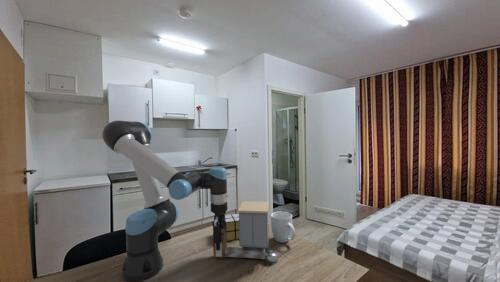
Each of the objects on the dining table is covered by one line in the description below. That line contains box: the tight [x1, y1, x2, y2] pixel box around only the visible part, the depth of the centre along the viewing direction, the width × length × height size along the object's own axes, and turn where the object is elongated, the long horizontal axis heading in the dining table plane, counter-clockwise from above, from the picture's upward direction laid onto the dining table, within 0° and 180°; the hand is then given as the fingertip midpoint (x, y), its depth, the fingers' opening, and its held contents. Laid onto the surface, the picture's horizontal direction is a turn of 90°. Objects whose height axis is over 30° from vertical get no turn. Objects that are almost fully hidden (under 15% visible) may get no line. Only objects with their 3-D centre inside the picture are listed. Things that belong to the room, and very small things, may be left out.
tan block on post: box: [212, 229, 265, 260], centre depth 95 cm, size 23×4×11 cm, turn 82°
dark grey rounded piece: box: [264, 249, 279, 265], centre depth 93 cm, size 6×6×3 cm
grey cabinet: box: [237, 200, 270, 252], centre depth 97 cm, size 13×13×23 cm
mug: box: [270, 210, 296, 244], centre depth 110 cm, size 15×11×13 cm
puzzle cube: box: [225, 213, 239, 242], centre depth 117 cm, size 10×10×10 cm
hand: (220, 253), depth 96 cm, fingers closed on tan block on post, 4 cm apart
